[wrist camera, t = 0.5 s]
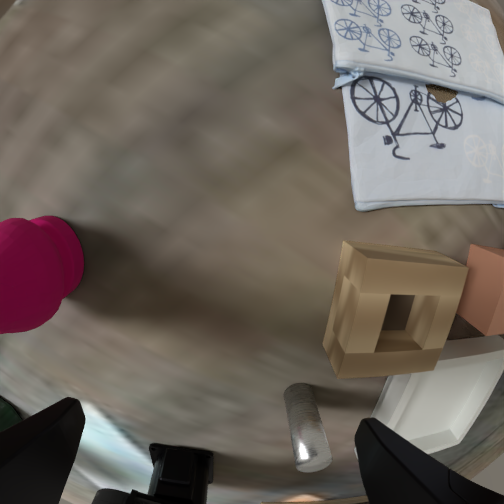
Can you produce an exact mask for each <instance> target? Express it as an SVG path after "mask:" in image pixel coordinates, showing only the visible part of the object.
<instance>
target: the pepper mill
mask: <svg viewBox="0 0 504 504" xmlns="http://www.w3.org/2000/svg"><path fill="white" fill-rule="evenodd" d="M83 270H84V257H83V251H82V248H81V245H80V241H79V240H78V238H77V236H76V234H75V232H74V231H73V230H72V229H71V227H70V226H69V225H68V224H67V223H66V222H64V221H63V220H61V219H59V218H57V217H54V216H42V217H39V218H35V219H32V220H26V219H23V218H10V219H7V220H5V221H3V222H0V334H4V333H17V332H25V331H29V330H32V329H35V328H37V327H39V326H41V325H42V324H44V323H45V322H47V321H48V320H49V319H51V318H52V317H53V315H54V314H55V313H56V312H57V310H58V309H59V306H60V304H61V301H62V299H63V298H65V297H66V296H67V295H68V294H70V293H71V292H72V291H73V290H75V288H76V287H77V286H78V285H79V283H80V281H81V279H82V275H83Z"/></svg>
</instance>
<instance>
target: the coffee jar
mask: <svg viewBox="0 0 504 504" xmlns="http://www.w3.org/2000/svg"><path fill="white" fill-rule="evenodd" d="M21 421H23V420H22V419H21V418H20V417H19V415H18V414H17V413H16V411H15V410H14V408H13V407H12V406H10V405H9V404H8V403H7V402H5V401H4V400H2V399H1V398H0V432H1V431H3V430H5V429H7V428H9V427H11V426H13V425H15V424H17V423H19V422H21Z"/></svg>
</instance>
